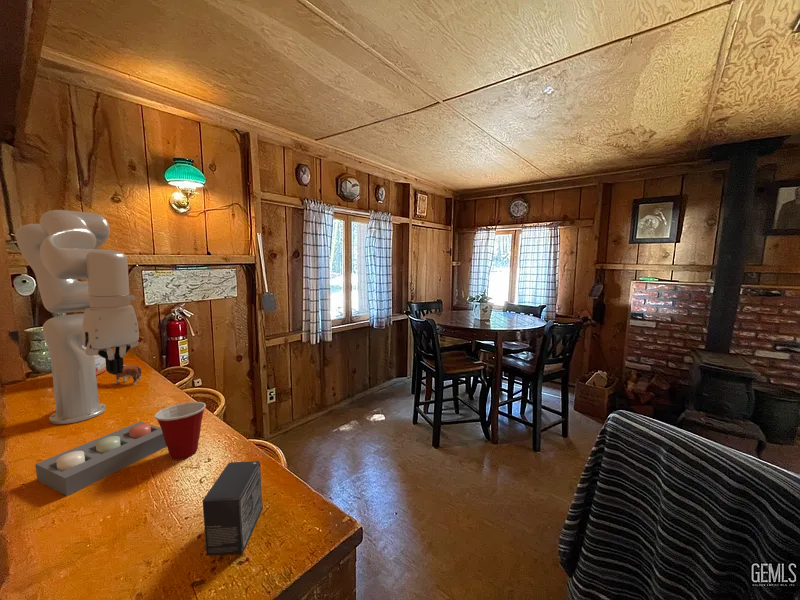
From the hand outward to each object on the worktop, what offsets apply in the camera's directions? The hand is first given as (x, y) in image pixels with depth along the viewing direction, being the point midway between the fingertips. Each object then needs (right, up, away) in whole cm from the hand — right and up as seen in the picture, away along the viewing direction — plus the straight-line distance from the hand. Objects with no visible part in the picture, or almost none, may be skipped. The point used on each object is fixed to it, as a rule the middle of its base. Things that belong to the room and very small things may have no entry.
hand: (115, 372), depth 84 cm
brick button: (+4, -20, +3) cm, 20 cm away
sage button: (+2, -20, -3) cm, 21 cm away
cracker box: (-56, -13, +52) cm, 77 cm away
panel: (+2, -21, -4) cm, 21 cm away
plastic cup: (+17, -21, 0) cm, 27 cm away
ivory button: (-1, -21, -10) cm, 23 cm away
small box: (+42, -24, -23) cm, 54 cm away
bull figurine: (-35, -14, +46) cm, 60 cm away
